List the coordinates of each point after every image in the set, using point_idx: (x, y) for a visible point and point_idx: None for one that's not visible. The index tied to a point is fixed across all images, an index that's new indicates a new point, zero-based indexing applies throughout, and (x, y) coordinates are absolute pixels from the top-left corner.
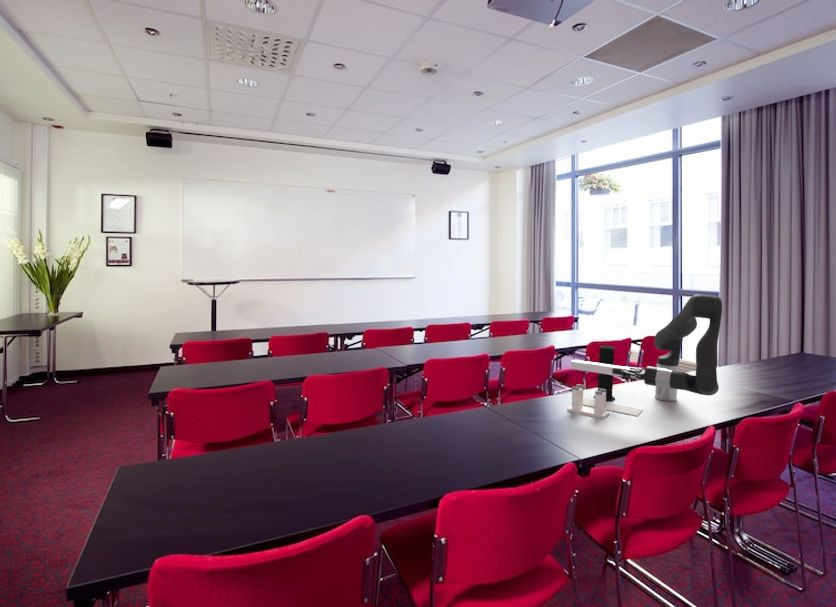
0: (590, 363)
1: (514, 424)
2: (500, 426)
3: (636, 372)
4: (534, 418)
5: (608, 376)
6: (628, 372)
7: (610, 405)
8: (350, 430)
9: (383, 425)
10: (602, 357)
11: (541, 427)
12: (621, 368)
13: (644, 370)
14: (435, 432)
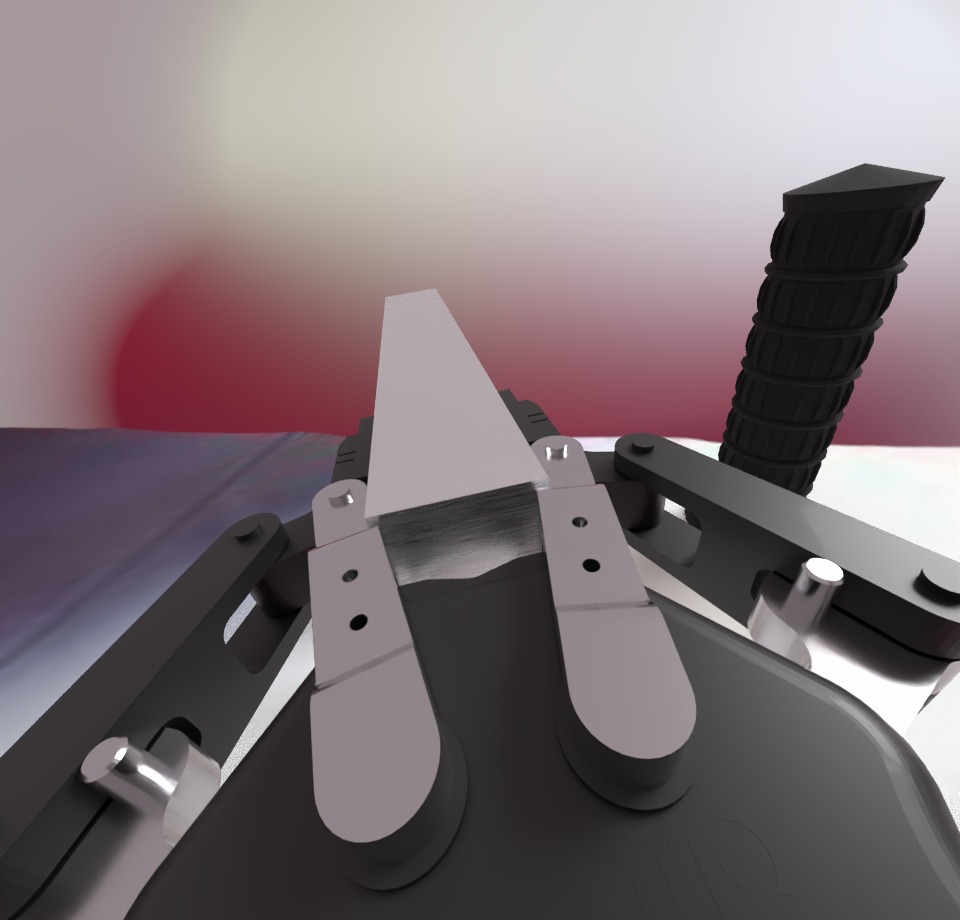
0: (398, 321)
1: (154, 533)
2: (118, 525)
3: (290, 764)
4: None
5: (776, 422)
6: (168, 627)
7: (678, 596)
8: (20, 428)
9: (64, 430)
10: (772, 280)
11: (146, 595)
12: (371, 451)
13: (852, 824)
14: (24, 484)
